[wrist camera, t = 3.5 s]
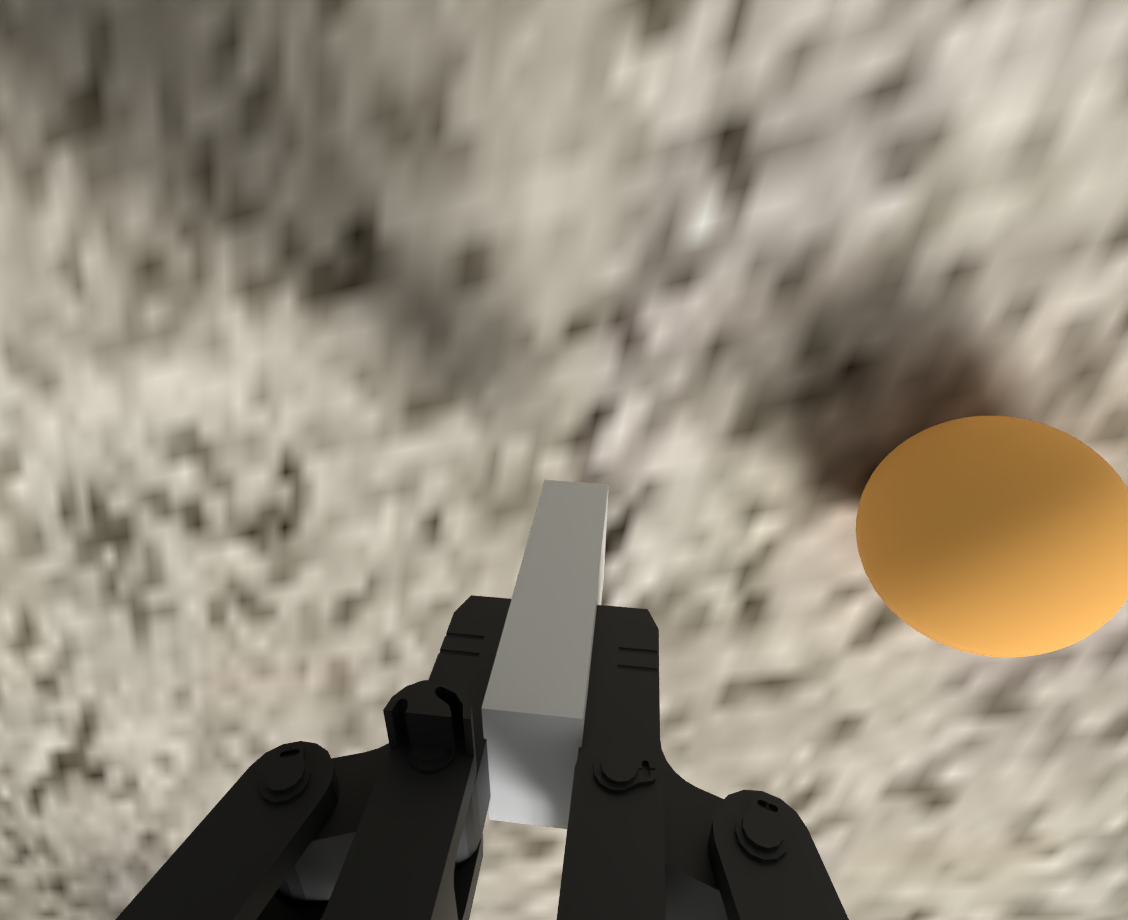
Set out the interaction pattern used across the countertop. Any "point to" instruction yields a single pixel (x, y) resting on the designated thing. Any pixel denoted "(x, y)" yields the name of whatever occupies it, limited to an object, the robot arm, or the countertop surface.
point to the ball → (996, 536)
